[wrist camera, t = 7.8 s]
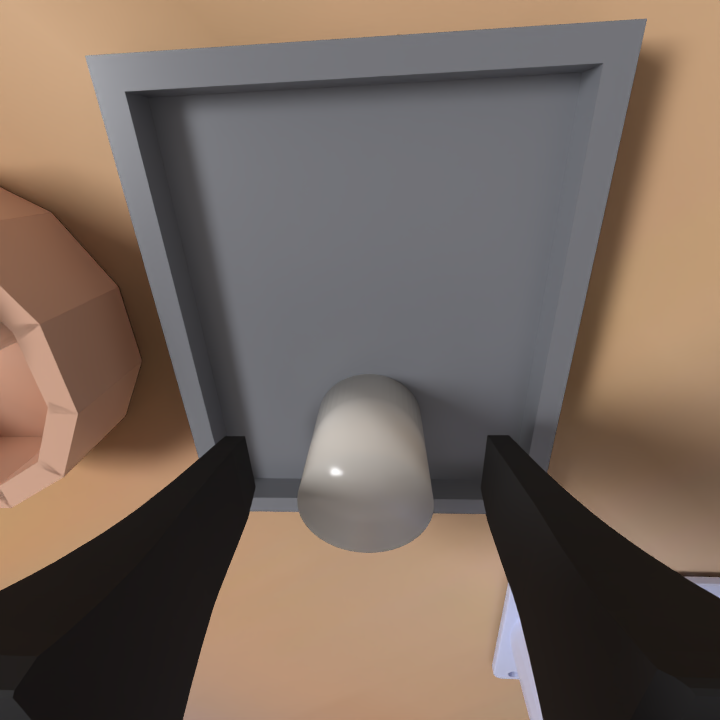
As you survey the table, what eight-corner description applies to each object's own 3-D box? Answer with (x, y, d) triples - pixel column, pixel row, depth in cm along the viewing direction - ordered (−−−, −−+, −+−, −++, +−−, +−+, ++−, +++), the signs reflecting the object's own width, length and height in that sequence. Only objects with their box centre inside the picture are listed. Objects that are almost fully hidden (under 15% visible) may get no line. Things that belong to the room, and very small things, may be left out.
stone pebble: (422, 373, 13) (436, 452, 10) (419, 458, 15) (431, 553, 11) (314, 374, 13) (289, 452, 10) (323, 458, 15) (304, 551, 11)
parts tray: (609, 38, 9) (646, 18, 8) (524, 484, 16) (537, 514, 14) (123, 69, 10) (85, 55, 9) (227, 482, 16) (213, 510, 15)
